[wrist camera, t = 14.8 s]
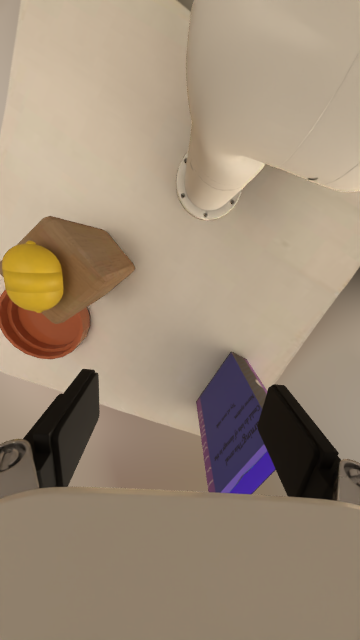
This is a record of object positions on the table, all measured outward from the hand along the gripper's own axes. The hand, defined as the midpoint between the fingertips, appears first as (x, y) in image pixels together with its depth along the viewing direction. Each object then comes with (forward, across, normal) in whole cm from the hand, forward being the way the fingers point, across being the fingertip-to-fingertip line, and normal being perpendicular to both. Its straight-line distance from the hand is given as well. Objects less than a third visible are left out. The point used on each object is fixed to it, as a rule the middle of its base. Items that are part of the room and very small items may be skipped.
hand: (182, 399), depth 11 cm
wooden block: (+36, +16, -3) cm, 40 cm away
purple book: (+36, -14, +24) cm, 46 cm away
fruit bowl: (+36, +28, +10) cm, 47 cm away
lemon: (+16, +16, -3) cm, 23 cm away
